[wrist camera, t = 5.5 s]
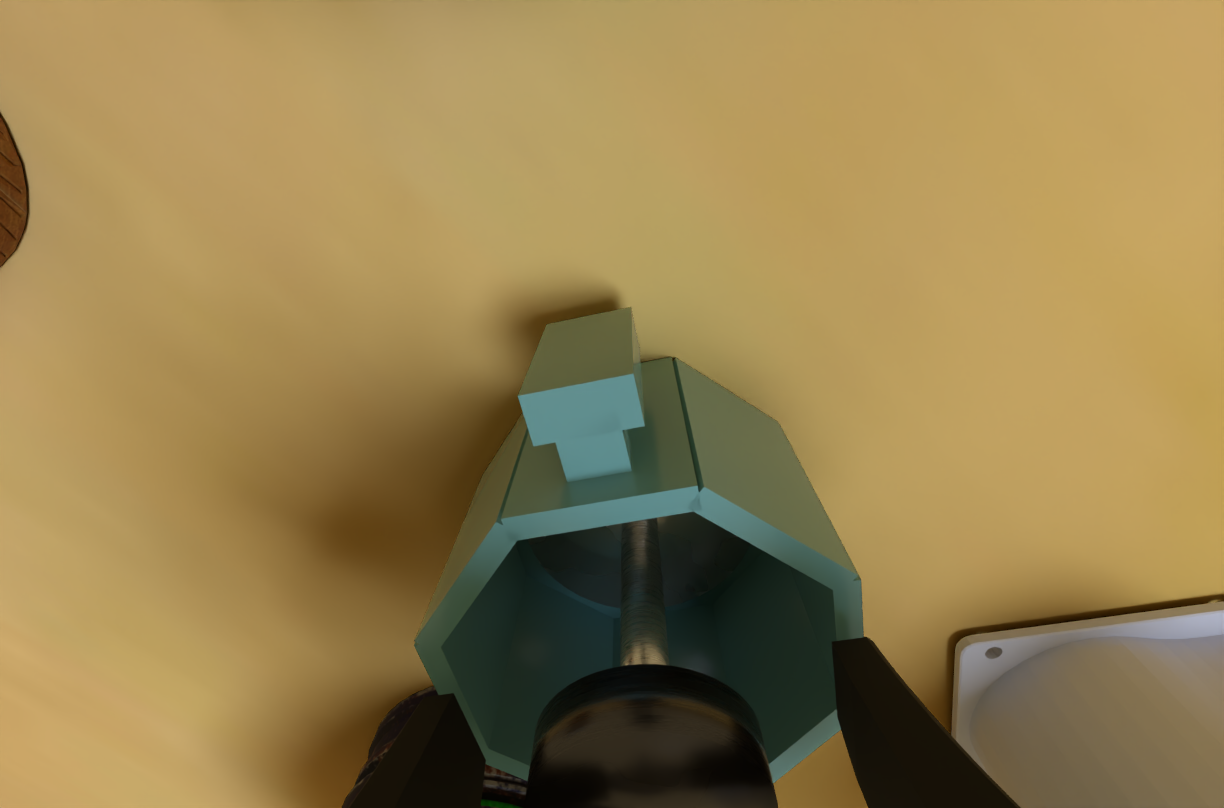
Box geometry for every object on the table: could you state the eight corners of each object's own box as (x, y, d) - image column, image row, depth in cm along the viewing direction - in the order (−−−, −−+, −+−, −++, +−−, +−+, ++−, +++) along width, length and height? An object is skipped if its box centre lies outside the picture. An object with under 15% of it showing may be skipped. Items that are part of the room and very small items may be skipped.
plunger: (738, 391, 15) (847, 644, 7) (764, 582, 17) (863, 905, 10) (497, 436, 15) (384, 707, 8) (558, 613, 18) (513, 936, 11)
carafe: (763, 266, 14) (851, 352, 9) (797, 589, 18) (870, 784, 13) (430, 335, 15) (318, 452, 9) (537, 627, 19) (502, 823, 14)
